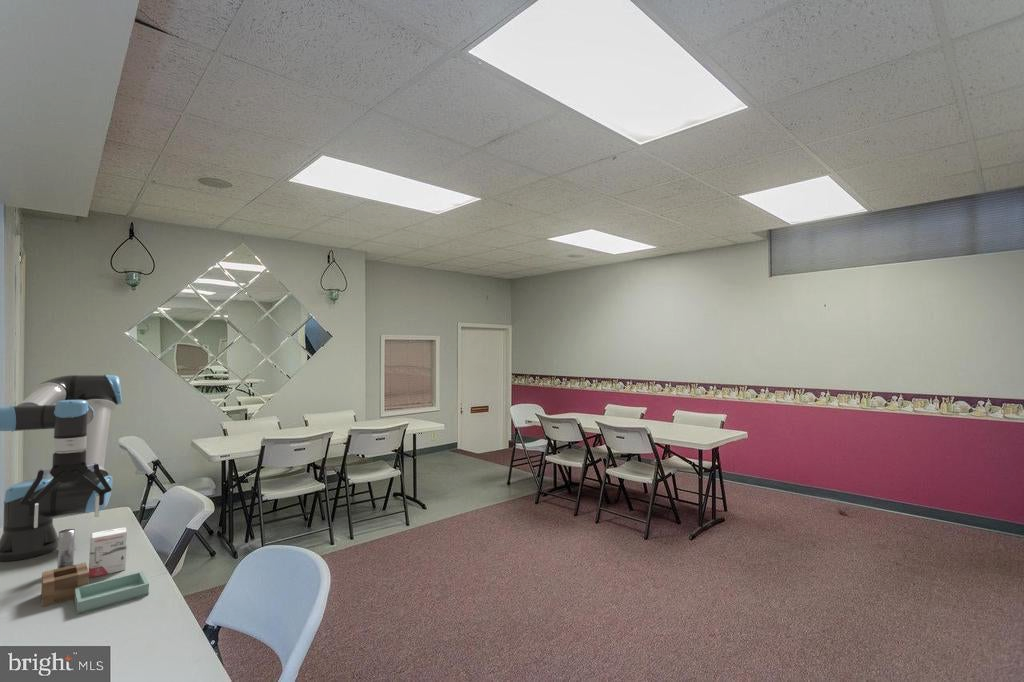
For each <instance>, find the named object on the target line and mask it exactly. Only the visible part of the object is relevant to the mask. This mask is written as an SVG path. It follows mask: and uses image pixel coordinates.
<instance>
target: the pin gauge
mask: <svg viewBox="0 0 1024 682" xmlns="http://www.w3.org/2000/svg"><path fill="white" fill-rule="evenodd" d="M75 530H76V529H75V528H69V529H63V530H60V531H58V538H59V540H58V547H57V568H56V569H58V568H63V567H67V566H72V565H75V563H74V562H75V561H74V560H75V538H76V537H75V534H76V533H75V532H76V531H75Z"/></svg>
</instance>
